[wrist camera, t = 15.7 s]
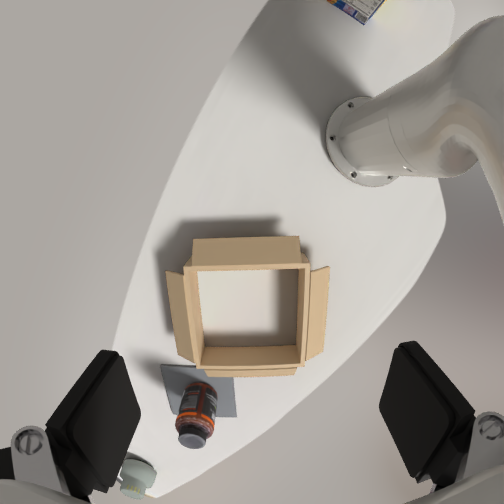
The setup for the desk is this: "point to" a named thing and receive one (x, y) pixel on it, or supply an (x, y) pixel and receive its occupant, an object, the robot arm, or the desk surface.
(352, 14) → the beverage box
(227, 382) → the mat
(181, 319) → the carton
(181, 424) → the supplement bottle
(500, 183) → the robot arm
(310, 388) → the desk surface
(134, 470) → the air freshener
